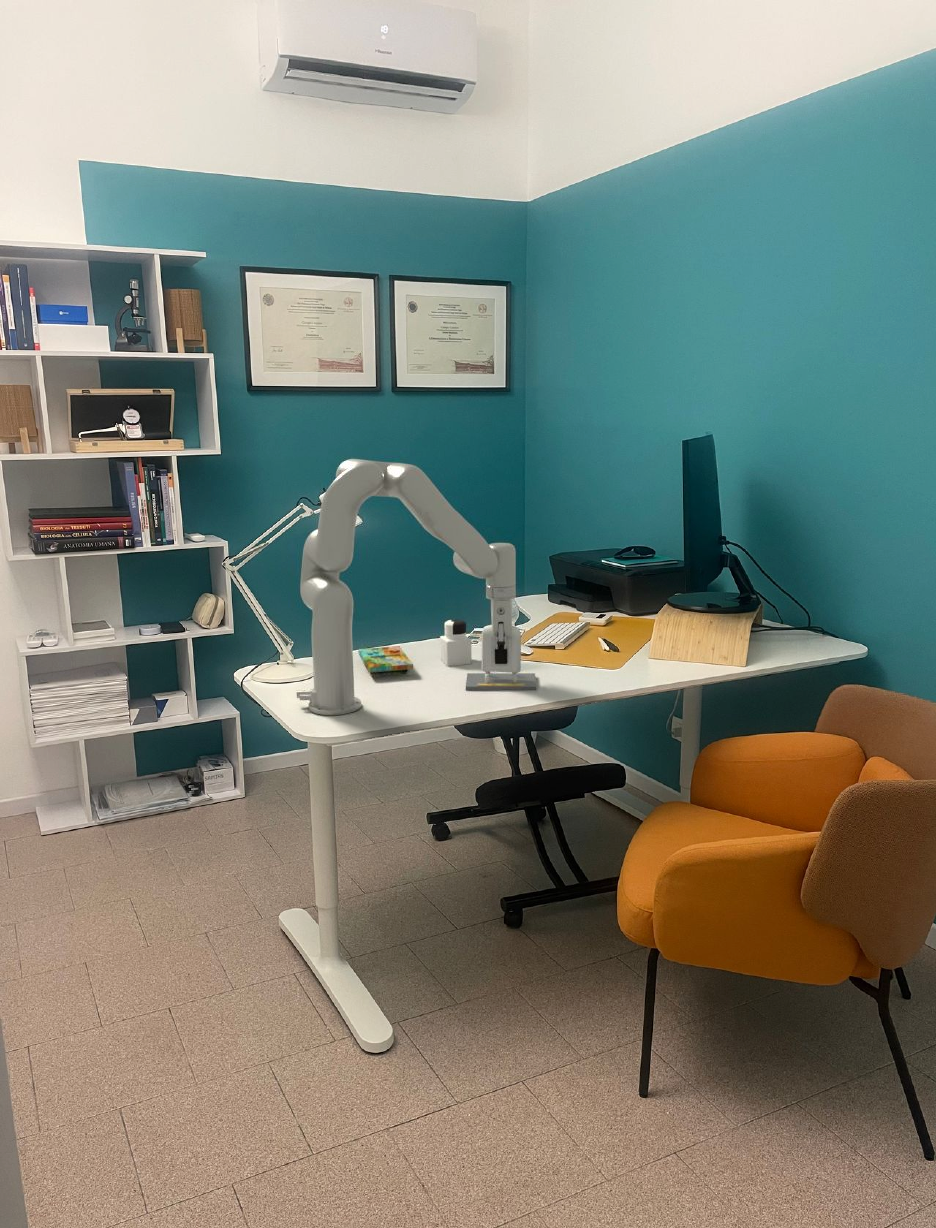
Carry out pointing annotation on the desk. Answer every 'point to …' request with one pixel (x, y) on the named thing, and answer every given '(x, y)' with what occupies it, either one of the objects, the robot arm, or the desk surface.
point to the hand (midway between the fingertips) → (501, 660)
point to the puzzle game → (385, 660)
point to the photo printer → (512, 651)
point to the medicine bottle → (455, 644)
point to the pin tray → (501, 681)
